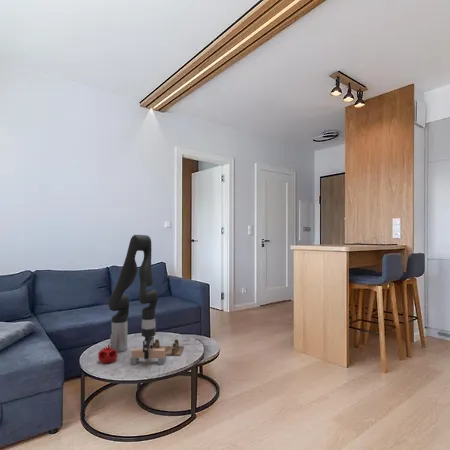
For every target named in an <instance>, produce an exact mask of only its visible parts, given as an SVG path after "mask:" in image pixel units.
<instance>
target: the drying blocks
mask: <svg viewBox="0 0 450 450" xmlns="http://www.w3.org/2000/svg"><path fill="white" fill-rule="evenodd" d="M166 357H167V356H166V355H165V357H164V358H157V365H159V366H161V365H164V364H165V362H166V360H167V359H166ZM139 361H140V358H131V357H130V365H137V364H138V362H139Z"/></svg>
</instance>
